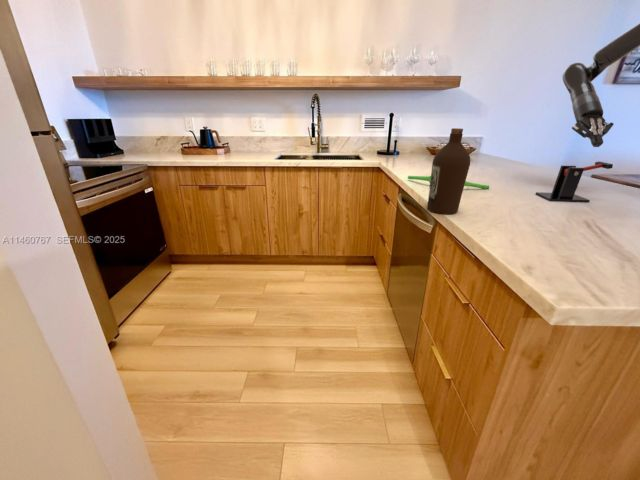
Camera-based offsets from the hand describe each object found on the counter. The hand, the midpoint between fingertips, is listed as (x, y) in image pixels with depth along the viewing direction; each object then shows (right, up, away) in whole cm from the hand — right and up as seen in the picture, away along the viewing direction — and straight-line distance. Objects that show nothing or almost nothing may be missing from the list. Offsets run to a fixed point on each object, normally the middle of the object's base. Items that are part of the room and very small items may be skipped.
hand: (598, 145), depth 102 cm
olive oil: (-59, -24, -8) cm, 65 cm away
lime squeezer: (-47, -11, +20) cm, 52 cm away
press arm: (-6, -10, -1) cm, 12 cm away
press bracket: (-11, -19, +3) cm, 22 cm away
